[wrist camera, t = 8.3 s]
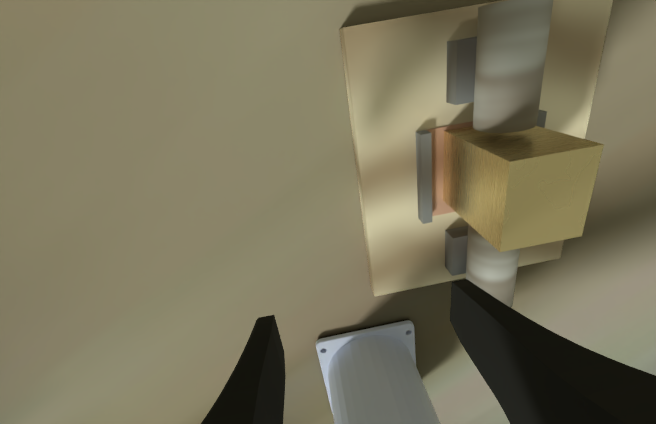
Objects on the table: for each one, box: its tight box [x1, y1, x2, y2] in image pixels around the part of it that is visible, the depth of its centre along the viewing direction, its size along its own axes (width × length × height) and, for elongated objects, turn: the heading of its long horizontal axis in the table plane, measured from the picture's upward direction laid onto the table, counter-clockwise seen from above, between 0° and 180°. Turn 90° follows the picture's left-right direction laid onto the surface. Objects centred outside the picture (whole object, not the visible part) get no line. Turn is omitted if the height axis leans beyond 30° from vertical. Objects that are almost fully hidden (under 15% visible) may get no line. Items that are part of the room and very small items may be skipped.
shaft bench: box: [339, 0, 613, 308], centre depth 18 cm, size 17×14×5 cm
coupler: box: [443, 126, 604, 252], centre depth 17 cm, size 4×4×6 cm
